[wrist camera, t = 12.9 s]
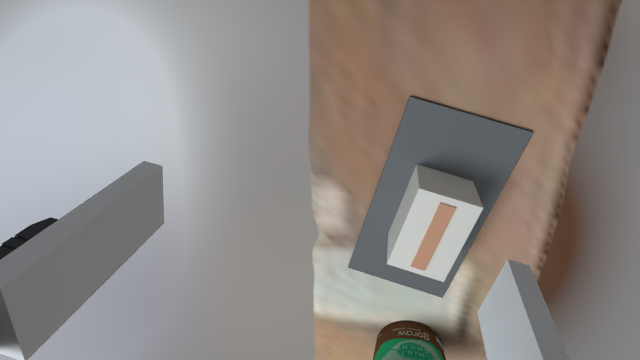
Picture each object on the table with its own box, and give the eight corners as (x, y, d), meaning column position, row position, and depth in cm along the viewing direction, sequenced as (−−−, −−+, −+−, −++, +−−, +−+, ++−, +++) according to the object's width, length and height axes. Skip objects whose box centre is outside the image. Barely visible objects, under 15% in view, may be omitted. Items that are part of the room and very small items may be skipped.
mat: (410, 95, 40) (410, 96, 39) (531, 131, 39) (532, 132, 39) (348, 265, 51) (348, 267, 51) (442, 295, 50) (442, 297, 50)
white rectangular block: (438, 249, 47) (443, 283, 41) (388, 233, 47) (386, 265, 42) (473, 181, 42) (484, 209, 37) (416, 164, 43) (419, 189, 37)
